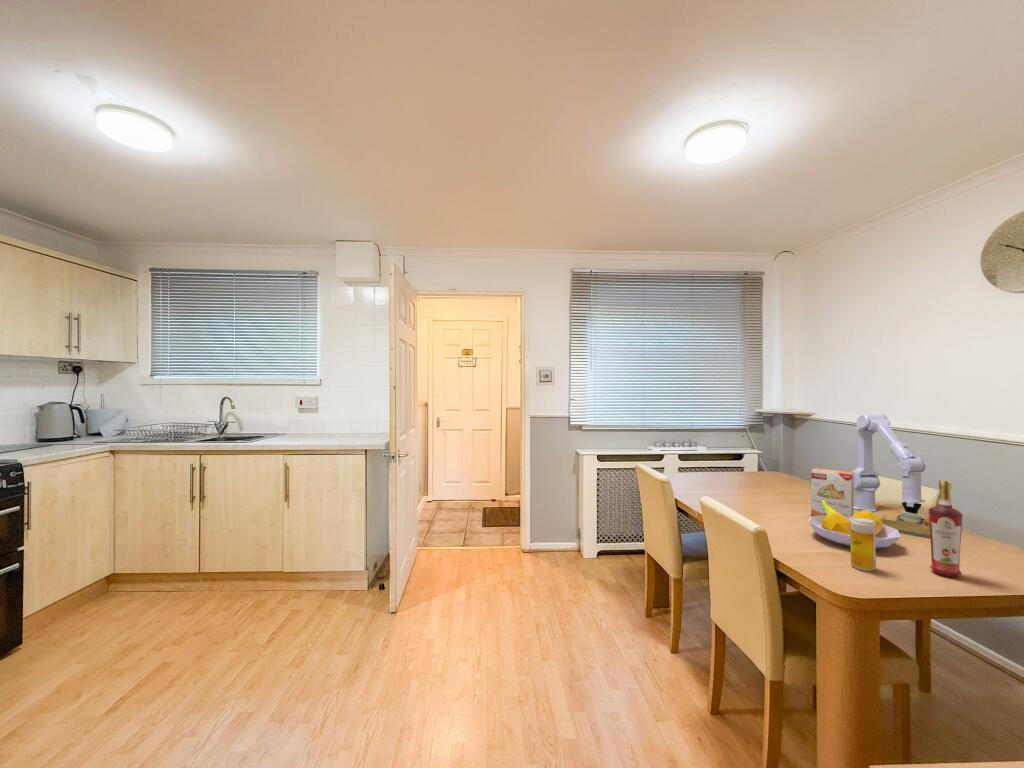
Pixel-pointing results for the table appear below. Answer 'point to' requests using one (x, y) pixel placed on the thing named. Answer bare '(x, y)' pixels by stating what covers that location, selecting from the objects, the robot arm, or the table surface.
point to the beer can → (863, 544)
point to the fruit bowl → (840, 527)
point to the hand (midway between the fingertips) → (911, 521)
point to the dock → (908, 528)
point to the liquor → (945, 534)
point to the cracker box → (832, 491)
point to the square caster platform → (911, 518)
